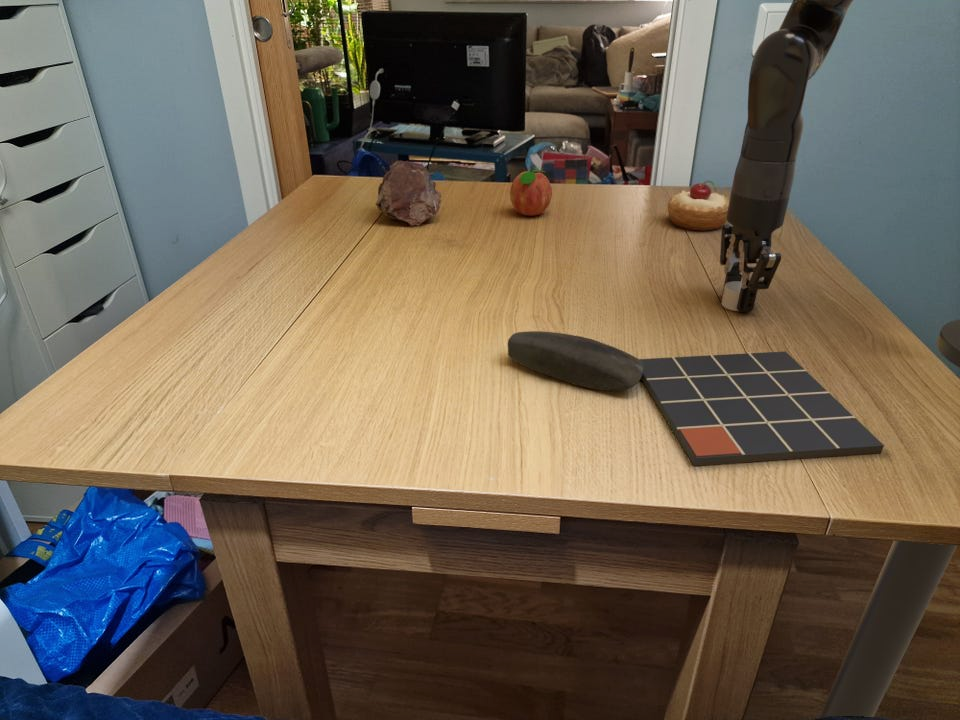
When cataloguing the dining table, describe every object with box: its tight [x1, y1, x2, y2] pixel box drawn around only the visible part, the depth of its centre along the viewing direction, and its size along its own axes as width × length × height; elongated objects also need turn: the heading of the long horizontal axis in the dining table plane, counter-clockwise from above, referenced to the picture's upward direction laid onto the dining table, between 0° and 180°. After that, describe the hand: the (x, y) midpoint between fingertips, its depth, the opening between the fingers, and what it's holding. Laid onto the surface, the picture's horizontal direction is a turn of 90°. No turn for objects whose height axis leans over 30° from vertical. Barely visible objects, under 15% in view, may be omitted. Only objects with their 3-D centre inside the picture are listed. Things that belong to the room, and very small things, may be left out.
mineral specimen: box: [375, 160, 442, 227], centre depth 134 cm, size 12×13×15 cm
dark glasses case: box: [507, 330, 645, 391], centre depth 81 cm, size 17×6×4 cm, turn 65°
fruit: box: [509, 164, 553, 217], centre depth 136 cm, size 9×10×10 cm
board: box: [639, 350, 885, 467], centre depth 75 cm, size 20×20×1 cm
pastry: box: [667, 180, 730, 232], centre depth 131 cm, size 12×12×9 cm
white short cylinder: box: [720, 281, 742, 312], centre depth 98 cm, size 4×4×3 cm
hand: (736, 303), depth 99 cm, fingers closed on white short cylinder, 4 cm apart
